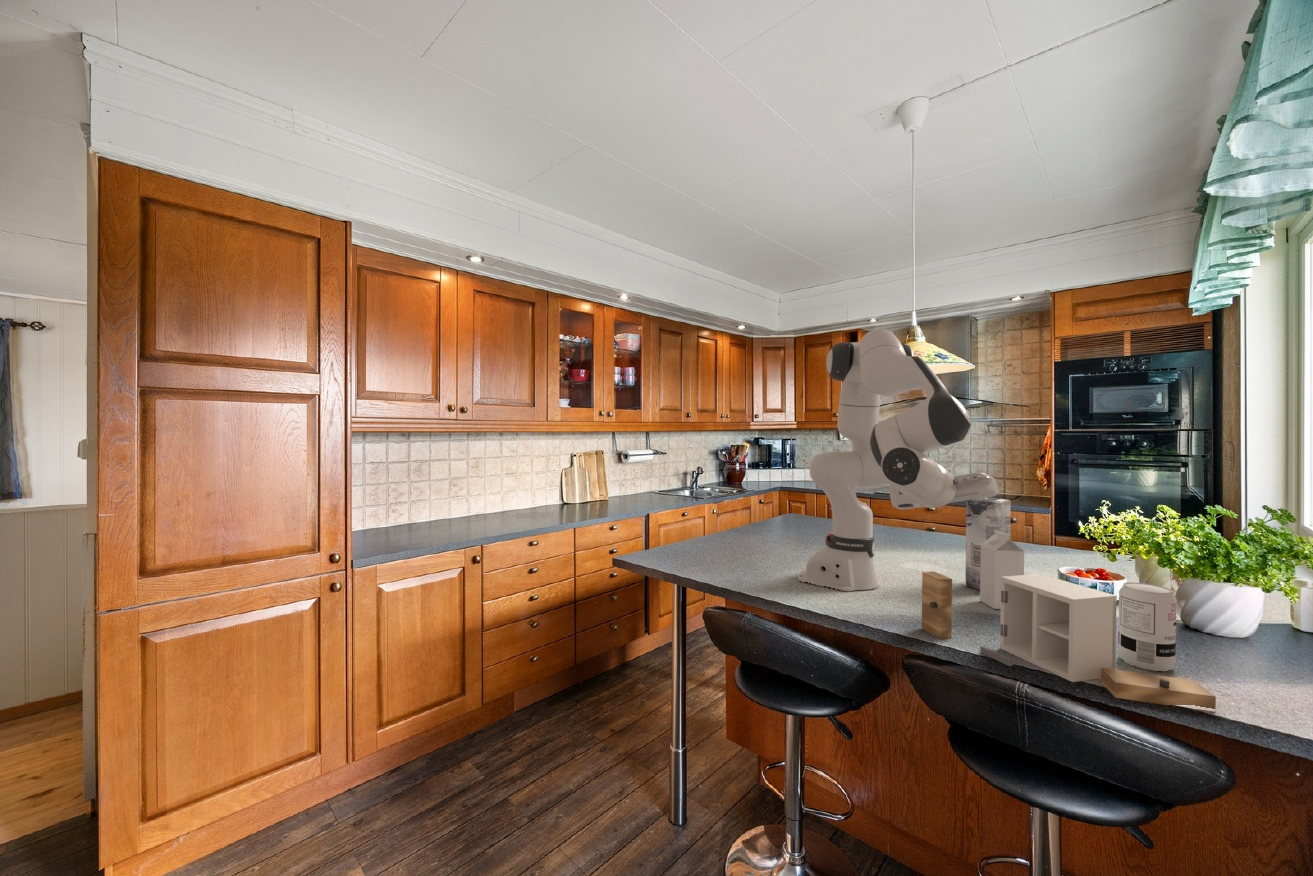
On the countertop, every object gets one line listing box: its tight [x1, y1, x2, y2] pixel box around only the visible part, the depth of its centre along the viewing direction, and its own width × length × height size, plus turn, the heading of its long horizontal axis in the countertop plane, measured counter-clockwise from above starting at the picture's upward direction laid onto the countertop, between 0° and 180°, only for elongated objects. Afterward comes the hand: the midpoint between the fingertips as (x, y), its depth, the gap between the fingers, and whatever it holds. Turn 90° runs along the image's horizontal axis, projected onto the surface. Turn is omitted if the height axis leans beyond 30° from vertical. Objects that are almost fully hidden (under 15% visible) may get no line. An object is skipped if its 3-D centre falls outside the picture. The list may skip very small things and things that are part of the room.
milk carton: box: [979, 530, 1025, 610], centre depth 138 cm, size 7×7×19 cm
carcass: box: [979, 573, 1118, 683], centre depth 104 cm, size 16×15×15 cm
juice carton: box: [964, 497, 1012, 591], centre depth 153 cm, size 9×10×27 cm
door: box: [1100, 668, 1217, 710], centre depth 91 cm, size 13×6×4 cm, turn 69°
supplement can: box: [1117, 581, 1178, 671], centre depth 104 cm, size 8×8×15 cm
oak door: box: [921, 571, 953, 640], centre depth 119 cm, size 4×6×13 cm, turn 7°
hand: (954, 500), depth 120 cm, fingers open, 8 cm apart
